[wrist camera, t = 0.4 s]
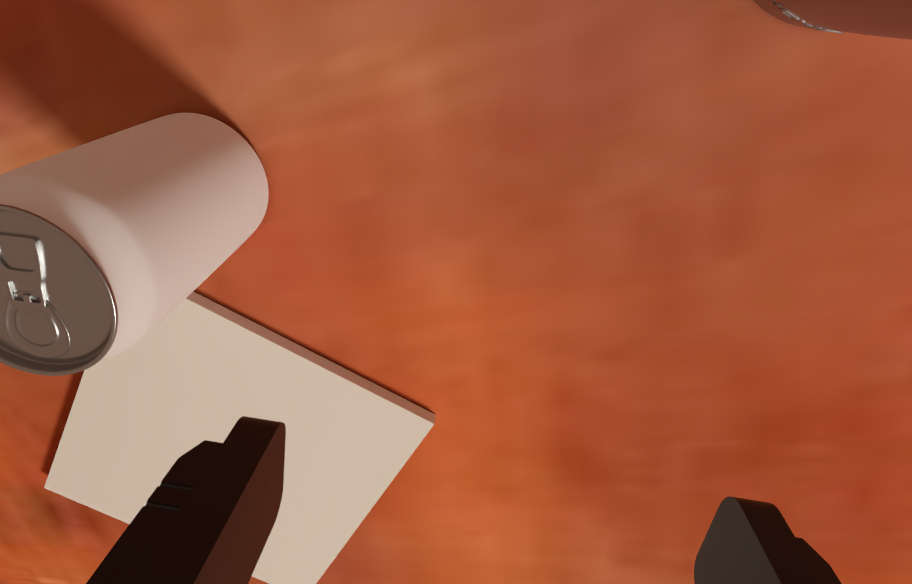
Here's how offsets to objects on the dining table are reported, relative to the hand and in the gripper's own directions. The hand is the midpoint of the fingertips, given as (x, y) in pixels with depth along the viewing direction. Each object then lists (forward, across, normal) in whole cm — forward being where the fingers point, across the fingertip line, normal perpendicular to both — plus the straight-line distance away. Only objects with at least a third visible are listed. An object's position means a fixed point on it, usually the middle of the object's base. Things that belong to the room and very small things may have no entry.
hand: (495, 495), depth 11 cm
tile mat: (+19, +13, +17) cm, 29 cm away
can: (+19, +14, +1) cm, 23 cm away
